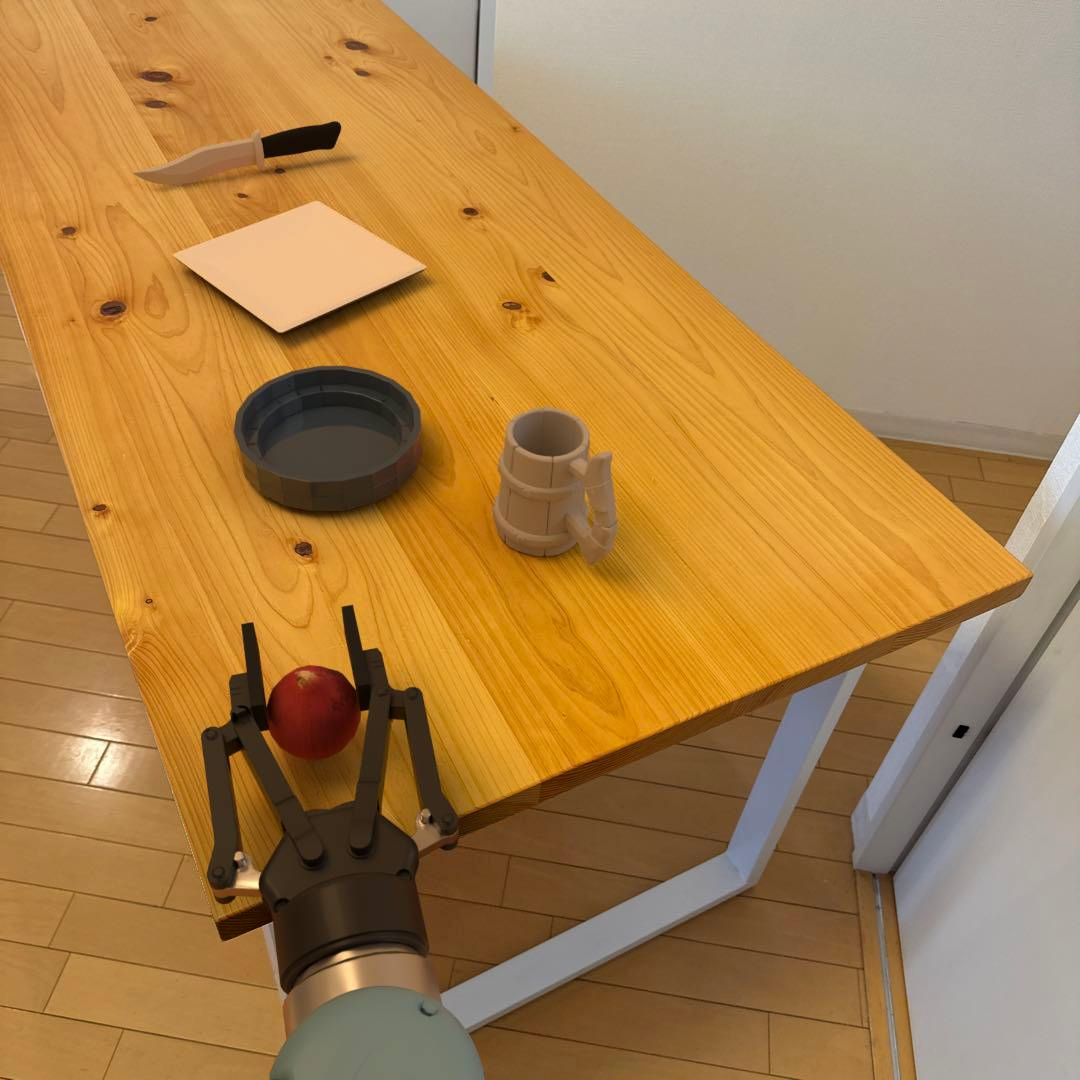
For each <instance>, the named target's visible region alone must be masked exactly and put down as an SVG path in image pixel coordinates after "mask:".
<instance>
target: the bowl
mask: <svg viewBox="0 0 1080 1080" xmlns="http://www.w3.org/2000/svg"><path fill="white" fill-rule="evenodd" d="M233 437H234V442H235V447H236V451H237V458H238V462H239V465H240V467H241V470H242V473H243V475H244V477H245V480H246V481H248V483H250V485H252V487H254V488H255V489H256V490H257V491H258V492H259V493H260V494H261V495H263V496H264V497H266V498H269V499H270V500H272V501H275V502H276V503H278V504H280V505H283V506H285V507H289V508H295V509H300V510H305V511H311V512H334V511H337V512H338V511H339V512H340V511H347V510H352V509H356V508H359V507H363V506H367V505H371V504H374V503H376V502H378V501H380V500H381V499H384V498H386V497H388V496H389V495H391V494H393V493H395V492H397V491H398V490H400V488H402V487H403V485H405V484H406V483H407V481H409V480H410V479H411V478H412V477H413V476H414V474H415V473H416V470H417V468H418V465H419V464H420V461H421V459H422V457H423V442H422V439H423V437H422V411H421V409H420V406H419V405H418V402H416V400H415V398H414V396H413V395H412V393H411V392H410V391H409V390H408V389H406V388H405V387H404V386H402V385H401V383H399V382H398V381H396V380H395V379H394V378H391V377H389V376H386V375H383V374H381V373H379V372H376V371H374V370H372V369H365V368H360V367H355V366H349V365H315V366H311V367H307V368H301V369H295V370H292V371H288V372H286V373H284V374H282V375H280V376H277V377H273V378H272V379H269V380H267V381H266V382H264V383H263V384H262V385H260V386H258V387H257V388H256V389H254V390H253V391H252V392H251V393H249V395H248V396H246V398H245V399H244V401H243V402H242V404H241V405H240V407H239V408H238V410H237V411H236V413H235V419H234V425H233Z"/></svg>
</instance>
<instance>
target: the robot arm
mask: <svg viewBox="0 0 1080 1080" xmlns="http://www.w3.org/2000/svg"><path fill="white" fill-rule="evenodd" d="M341 616H342V624H343V625H342V626H343V633H344V639H345V642H346V647H347V654H348V657H349V662H350V666H351V672H352V677H353V682H354V683H353V684H354V688H355V689H356V692H357V697H358V702H359V707H360V712H361V713H363V712H367V718H366V727H365V733H364V740H363V747H362V753H361V762H360V768H359V775H358V781H357V782H356V788H355V795H354V799H353V800H350V801H345V802H342V803H339V804H338V805H336V806H334V807H332V808H313V809H309V810H304V808H303V806H302V804H301V802H300V800H299V798H298V797H297V795H296V794H295V793H294V792H293V790H292V787H291V786H290V784H289V782H288V781H287V779H286V777H285V774H284V773H283V771H282V769H281V767H280V765H279V763H278V762H277V759H276V758H275V756H274V754H273V751H272V750H271V748H270V746H269V744H268V742H267V741H266V739H265V737H264V734H263V733H262V732H266V731H269V722H268V714H267V700H266V691H265V683H264V677H263V668H262V660H261V654H260V653H261V652H260V646H259V642H258V638H257V637H258V636H257V633H256V629H255V623H254V622H253V621H251V622H245V623H240V626H241V634H242V644H243V651H244V660H245V661H244V662H245V669H246V672H241V673H235V674H231V675H230V678H229V681H228V688H229V695H230V696H229V698H230V707H231V709H230V712H229V716H230V719H229V720H228V722H226V723H225V724H223V725H221V726H219V727H218V726H209V727H206V728H205V729H204V730H202V732H201V734H200V741H201V750H202V756H203V764H204V773H205V778H206V779H205V780H206V787H207V788H206V789H207V795H208V801H209V810H210V818H211V826H212V833H213V840H214V843H213V844H214V845H213V848H212V852H211V856H210V860H209V862H208V867H207V871H206V879H207V882H208V884H209V887H210V890H211V892H212V895H213V898H214V900H215V902H217V904H219V905H229V904H230V903H233V901H234V900H235V899H236V898H237V897H248V898H261V901H262V903H263V904H264V906H265V907H266V908H267V909H268V911H269V912H270V914H271V918H272V926H273V934H274V943H275V944H274V945H275V952H276V960H277V961H276V962H277V970H278V979H279V985H280V988H281V990H282V991H283V992H284V993H285V994H286V997H285V999H284V1000H283V1003H282V1016H283V1024H284V1032H285V1041H284V1042H283V1044H282V1046H281V1047H280V1050H278V1051H279V1052H278V1053H277V1055H276V1057H275V1059H274V1061H273V1064H272V1066H271V1069H270V1071H269V1074H268V1075H269V1077H268V1080H486V1079H485V1072H484V1071H485V1069H484V1066H483V1065H482V1061H481V1058H480V1055H479V1052H478V1050H477V1048H476V1045H475V1043H474V1040H473V1039H472V1037H471V1035H470V1034H469V1032H468V1030H467V1029H466V1028H465V1027H464V1025H463V1023H462V1022H461V1021H460V1020H459V1019H458V1018H457V1017H456V1016H455V1015H454V1014H453V1013H452V1012H451V1011H450V1010H449V1009H447V1008H446V1007H445V1006H444V1005H443V1001H442V996H441V992H440V987H439V983H438V978H437V974H436V973H437V972H436V969H435V966H434V964H433V962H431V961H430V959H428V958H427V957H428V955H429V953H430V942H429V938H428V933H427V928H426V924H425V923H426V922H425V920H424V914H423V911H422V906H421V900H420V897H419V892H418V891H419V890H418V886H417V882H416V876H417V874H418V870H419V866H420V859H422V858H423V857H426V856H427V855H430V854H431V853H433V852H434V851H436V850H438V849H440V850H444V851H448V852H450V851H452V850H454V849H456V848H457V846H458V845H459V820H460V819H459V815H458V814H457V812H456V810H455V808H453V806H452V805H451V802H450V801H449V800H448V798H447V796H446V795H445V794H444V792H443V790H442V784H441V780H440V775H439V770H438V765H437V760H436V756H435V755H436V754H435V750H434V745H433V739H432V735H431V729H430V725H429V720H428V715H427V710H426V704H425V699H424V694H423V691H422V690H421V688H419V687H416V686H410V687H407V688H405V689H404V690H402V689H401V690H400V689H396V688H393V687H392V686H391V685H390V683H389V678H388V675H387V670H386V666H385V662H384V661H385V660H384V657H383V653H382V652H381V650H380V649H379V648H378V647H374V648H369V649H363V645H362V641H361V635H360V631H359V626H358V622H357V617H356V612H355V607H354V604H349V605H342V606H341ZM394 720H396V721H397V720H398V721H404V722H403V723H404V728H405V731H406V732H405V734H406V738H407V743H408V744H407V745H408V750H409V755H410V760H411V766H412V772H413V778H414V782H415V783H414V785H415V789H416V795H417V799H418V805H419V810H420V811H419V812H418V813H416V816H415V832H414V833H413V835H411V836H410V835H409V834H408V833H406V832H405V831H403V829H401V828H400V827H399V826H398V825H396V824H395V823H394V822H392V821H391V820H390V819H389V818H387V817H386V816H385V815H384V814H383V813H382V812H383V801H384V799H383V798H384V792H385V791H384V790H385V782H386V776H387V775H386V774H387V765H388V757H389V749H390V742H391V733H392V732H391V731H392V724H393V723H394ZM238 752H241V754H242V757H243V759H244V760H245V762H246V764H247V766H248V768H249V770H250V772H251V774H252V776H253V779H254V780H255V782H256V785H257V786H258V788H259V790H260V792H261V794H262V796H263V798H264V800H265V803H266V804H267V807H268V808H269V811H270V812H271V814H272V816H273V818H274V821H275V822H276V824H277V826H278V829H279V831H280V834H281V836H282V837H281V839H280V840H279V842H278V844H277V845H276V847H275V849H274V850H273V852H272V853H271V856H269V859H268V861H267V863H266V865H265V866H264V868H263V869H262V871H259V870H257V869H255V865H254V861H253V858H252V855H251V854H250V853H248V852H245V851H244V846H243V840H242V834H241V828H240V827H241V826H240V820H239V819H240V818H239V814H238V813H239V812H238V807H237V800H236V793H235V787H234V780H233V774H232V767H231V761H230V757H231V756H233V755H235V754H236V753H238Z"/></svg>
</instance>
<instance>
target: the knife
mask: <svg viewBox="0 0 1080 1080" xmlns="http://www.w3.org/2000/svg"><path fill="white" fill-rule="evenodd" d="M341 132H342V124H341V123H340V122H339V121H337V120H334V121H330V122H326V123H322V124H314V125H306V126H300V127H295V128H291V129H286V130H283V131H278V132H276V133H273V134H270V135H266V136H263V137H261V131H260V129H259V128H258V129H254V130H253V131H252V133H251V136H250V137H248V138H243V139H237V140H236V139H235V140H232V141H225V142H221V143H215V144H210V145H209V144H208V145H205V146H201V147H198V148H196V149H194V150H192V151H189V152H188V153H186V154H184V155H182V156H180V157H178V158H176V159H173V160H171V161H168V162H164V163H161V164H158V165H155V166H151V167H148V168H144V169H141V170H137V171H134V172H132V174H133V175H135V176H136V177H138V178H140V179H142V180H144V181H147V182H149V183H153V184H158V185H166V186H182V185H183V186H184V185H189V184H193V183H196V182H200V181H201V180H202V181H203V180H204V179H206V178H209V177H211V176H214V175H217V174H221V173H224V172H227V171H231V170H236V169H241V168H247V167H251V166H257V168H258V169H259V170H260V171H262V172H264V171H266V168H265V159H272V158H278V157H286V156H292V155H300V154H304V153H308V152H314V151H331V150H334V148H335V147H336V145H337V142H338V139H339V137H340V134H341Z"/></svg>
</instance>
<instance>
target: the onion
mask: <svg viewBox="0 0 1080 1080" xmlns="http://www.w3.org/2000/svg"><path fill="white" fill-rule="evenodd" d="M266 707H267V714H268V722H269V730H268V732H269V734H270V736H271V738H272V740H273V741H274V742H275V744H276V745H277V746H278V748H280V749H281V750H283V751H284V752H286V753H287V754H289V755H291V756H293V757H295V758H300V759H304V760H309V761H316V760H324V759H329V758H330V757H333V756H335V755H337V754H339V753H340V752H341V751H343V750H344V748H346V746H347V745H348V744H350V742H351V741H352V740H353V738H354V737H356V734H357V731H358V729H359V726H360V723H361V717H362V712H360V707H359V702H358V697H357V692H356V688H355V686H354V685H353V684H352V683H351V682H350V680H349V679H348V678H347V677H346V675H344V673H342V672H341V671H339V670H336V669H333V668H332V669H331V668H330V667H329V668H328V667H325V666H322V665H315V664H314V665H312V664H308V665H303V666H300V667H296V668H295V669H293V670H291V671H289V672H288V673H286V674H285V675H284V676H282V677H281V678H280V680H278V682H277V683H276V685H274V686H273V687H272V689H271V692H270V694H269V698H268V701H267V703H266Z"/></svg>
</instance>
